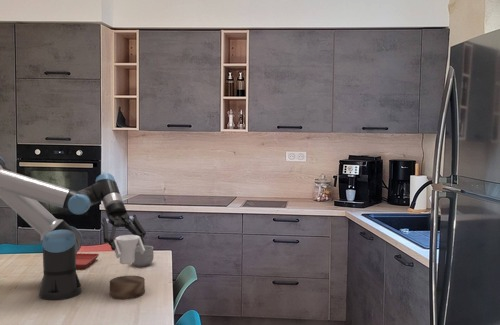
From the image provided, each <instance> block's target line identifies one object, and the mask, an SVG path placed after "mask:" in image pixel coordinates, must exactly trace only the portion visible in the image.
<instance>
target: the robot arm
mask: <svg viewBox="0 0 500 325" xmlns="http://www.w3.org/2000/svg"><path fill="white" fill-rule="evenodd" d="M95 178H96V179H95V183H93V184H91V185H89V186H87V187H85V188H83V189H80V190H78V191H76V190H73V189H69V188H67V187H64V186H59V185H57V184H54V183H50V182H46V181H43V180H40V179H37V178H34V177H31V176H27V175H24V174H21V173H17V172H14V171H12V169H10V168H9V167H8V166H7V165H6V161H4V159H3V158H2V157H1V156H0V199H1V200H2V201H3V202H4V203H5V204H6V205H7V206H9V208H10V209H12V210H13V211H14V212H15V213H16V214H17V215H18V216H20V217H21V219H23V220H24V221H25V222H26V223H27V224H28V225H29V226H30V227H31V228H32V229H33V230H34V231H36V233H38V234H39V235H40V242H41V245H42V263H43V265H42V266H43V267H42V269H43V272H42V273H43V276H42V279H41V282H40V285H39V289H38V296H39V298H40V299H44V300H53V301H54V300H55V301H56V300H64V299H69V298H74V297H76V296H78V295H79V294H81V293H82V284H81V281H80V278H79V277H78V274H77V269H76V254H78V252H79V251H80V249H81V247H82V244H83V236H82V234H81V232H80V231H79V229H77V228H76V227H75V226H72V225H69V224H68V222H66V221H65V220H64V219H59V218H56V217H55V216H54V215H53V213H52V212H51V213H50V211H49V210H47V208H46V207H45V206H43V204H41V203H44V204H48V205H51V206H56V207H58V208H62V209H63V210H68V211H69V212H70V213H72V214H74V215H83V214H84V213H86V212H87V211H89V210H90V207H92V206H93V205H96V204H98V203H101V202H102V205H103V208H104V211H105V214H106V215H107V216H106V217H107V218H106V217H103V218H102V220H101V223H100V224H101V226H102V231H103V235H102V236H103V243H104V244H107V243H108V246H110V250H112V251H114V253H115V256H116V259H120V255H121V253H120V250H119V247H118V243H117V241H116V239H114V238H115V234H116V230H117V228H125V229H127V230H128V232H130V233H131V235H137V236H139V240H138V242H137V246H138V247H139V249H140V252H141V254H144V252H145V248H144V246H145V240H144V238H145V236H146V234H147V232H146V231H145V229H144V228H143V226H142V225H141V223H140V222H139V220H138V218H137V215H136V214H133V215H129V214H128V212H127V209H126V206H125V204H124V200H123V198H122V195H121V192H120V190H119V186H118V184H117V181H116V179H115V176H113V175H112V174H111V173H109V172H106V173H105V172H104V173H102V174H99V175H98V176H96V177H95ZM109 224H111V225H112V227H111V232H110V236H109V226H108V225H109ZM143 245H144V246H143Z"/></svg>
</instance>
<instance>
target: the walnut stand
mask: <svg viewBox="0 0 500 325" xmlns="http://www.w3.org/2000/svg"><path fill="white" fill-rule="evenodd" d="M145 282H146V281H145V278H144V277H142V276H139V275H122V276H116V277H113V278H111V279H110V280H109V297H111V298H113V299H115V300H116V299H117V300H131V299H136V298H140V297H141V296H143V295H144V294H145V293H146V288H145V287H146V285H145Z"/></svg>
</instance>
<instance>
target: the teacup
mask: <svg viewBox="0 0 500 325" xmlns="http://www.w3.org/2000/svg"><path fill="white" fill-rule="evenodd" d="M143 246H144V248H145V252H144V254H141V252H140V249H139V247H138V245H136V249H135V261H134V263H132V265H134V266H135V267H147V266H149V265H150V264H151V263H153V261H154V246H151V245H145V244H144V245H143Z"/></svg>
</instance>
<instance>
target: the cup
mask: <svg viewBox="0 0 500 325" xmlns="http://www.w3.org/2000/svg"><path fill="white" fill-rule="evenodd" d="M114 238H115V239H114V240H116V241H117V244H118V247H119V250H120V253H121V255H120V257H119V263H120V264H121V265H131V264H133V263H134V261H135V249H136V247H137V246H138V244H137V242H138V240H139V236H137V235H133V234H123V235H119V236H116V237H114Z"/></svg>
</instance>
